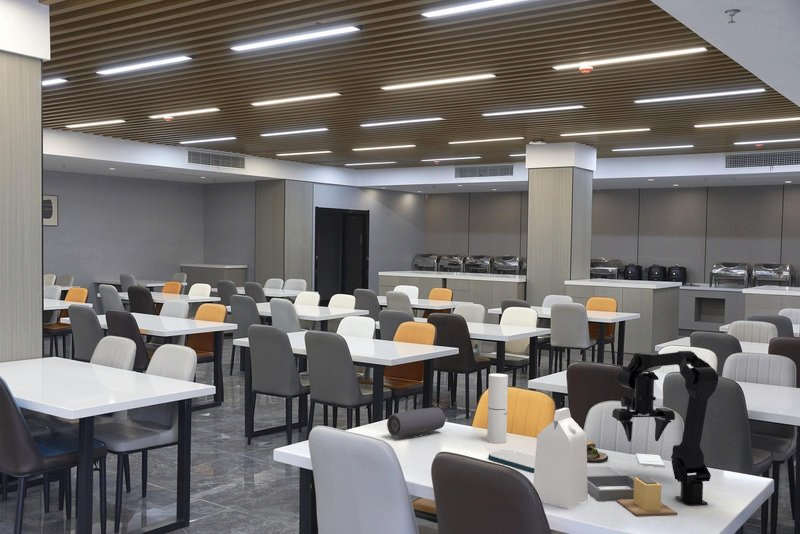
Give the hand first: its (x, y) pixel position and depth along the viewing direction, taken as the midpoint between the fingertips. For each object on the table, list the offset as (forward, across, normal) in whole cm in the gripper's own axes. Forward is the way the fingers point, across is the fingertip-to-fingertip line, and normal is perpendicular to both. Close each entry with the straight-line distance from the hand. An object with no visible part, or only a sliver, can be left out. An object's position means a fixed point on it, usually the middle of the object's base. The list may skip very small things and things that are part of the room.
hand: (642, 441), depth 234 cm
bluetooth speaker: (+12, +62, -61) cm, 88 cm away
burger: (+12, +7, -24) cm, 28 cm away
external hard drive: (+13, +33, -20) cm, 41 cm away
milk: (+12, +34, +16) cm, 39 cm away
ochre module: (+11, +12, +26) cm, 31 cm away
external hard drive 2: (+13, -12, -18) cm, 26 cm away
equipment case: (+12, +15, +5) cm, 20 cm away
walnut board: (+12, +12, +26) cm, 31 cm away
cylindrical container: (+12, +33, -50) cm, 61 cm away
